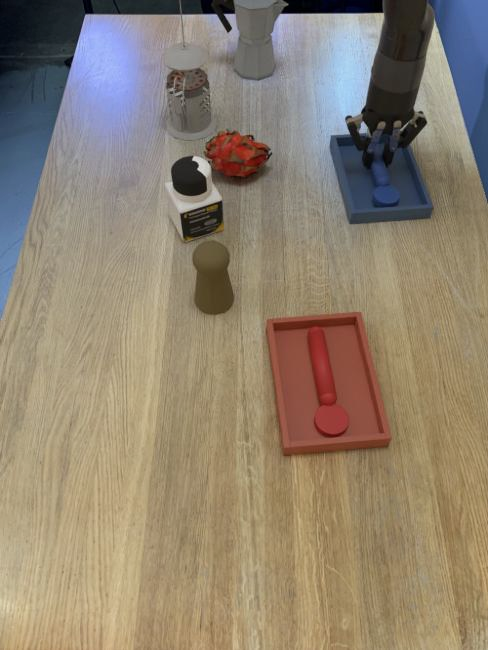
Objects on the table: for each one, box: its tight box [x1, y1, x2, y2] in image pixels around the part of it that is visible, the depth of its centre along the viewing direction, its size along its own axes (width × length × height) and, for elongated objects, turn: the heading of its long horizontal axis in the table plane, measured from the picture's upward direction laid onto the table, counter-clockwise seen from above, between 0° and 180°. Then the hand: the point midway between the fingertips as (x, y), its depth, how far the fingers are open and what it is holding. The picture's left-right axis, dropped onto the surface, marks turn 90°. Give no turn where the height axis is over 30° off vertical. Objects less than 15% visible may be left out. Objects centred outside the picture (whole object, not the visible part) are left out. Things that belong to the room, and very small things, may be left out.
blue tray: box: [328, 130, 435, 225], centre depth 104 cm, size 14×20×2 cm
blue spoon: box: [371, 143, 400, 208], centre depth 103 cm, size 16×4×2 cm, turn 5°
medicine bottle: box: [164, 155, 225, 243], centre depth 95 cm, size 7×7×12 cm
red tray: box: [265, 311, 393, 456], centre depth 81 cm, size 14×20×2 cm
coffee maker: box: [210, 0, 289, 81], centre depth 117 cm, size 15×9×18 cm, turn 77°
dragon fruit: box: [202, 127, 273, 182], centre depth 104 cm, size 8×8×12 cm
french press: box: [161, 0, 218, 141], centre depth 103 cm, size 10×12×25 cm
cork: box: [191, 239, 235, 316], centre depth 86 cm, size 6×6×11 cm
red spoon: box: [308, 326, 349, 438], centre depth 81 cm, size 16×4×2 cm, turn 5°
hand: (375, 165), depth 105 cm, fingers closed on blue spoon, 2 cm apart
